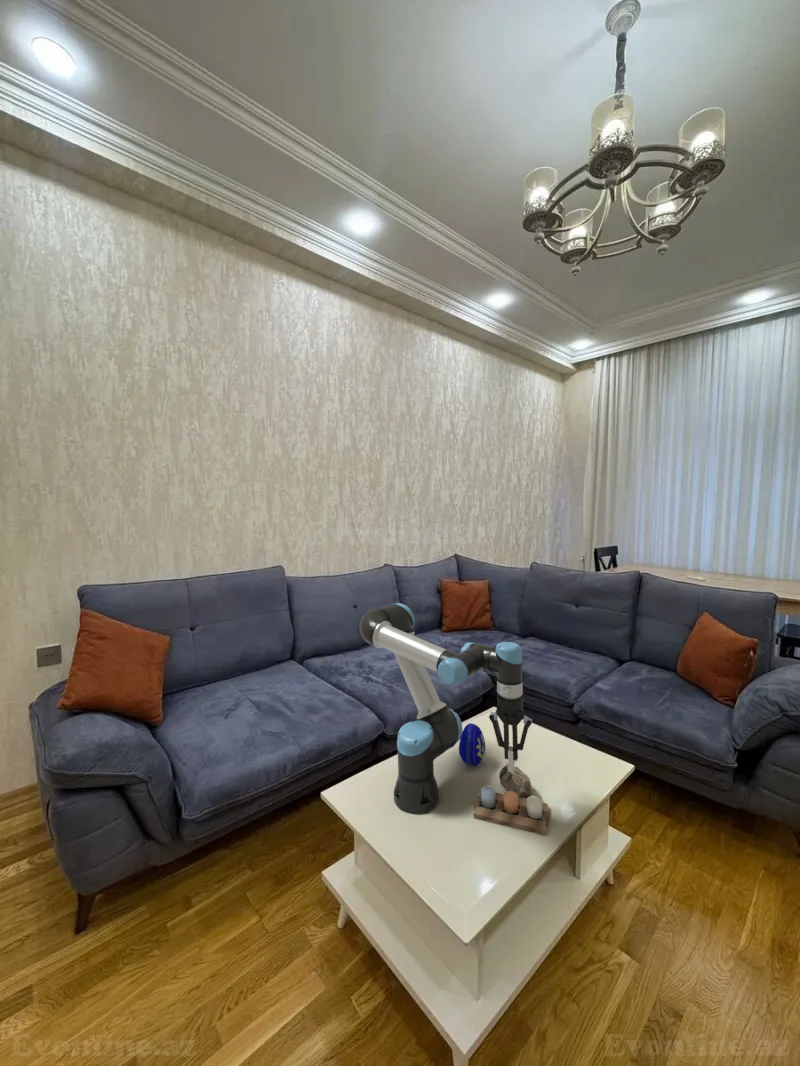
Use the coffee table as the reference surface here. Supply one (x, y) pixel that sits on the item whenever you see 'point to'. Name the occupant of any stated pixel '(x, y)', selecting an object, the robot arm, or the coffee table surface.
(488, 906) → the coffee table surface
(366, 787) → the coffee table surface
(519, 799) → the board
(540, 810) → the button cream
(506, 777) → the stone
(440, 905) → the coffee table surface
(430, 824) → the coffee table surface
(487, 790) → the button slate
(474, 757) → the ornament
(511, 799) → the button terracotta
